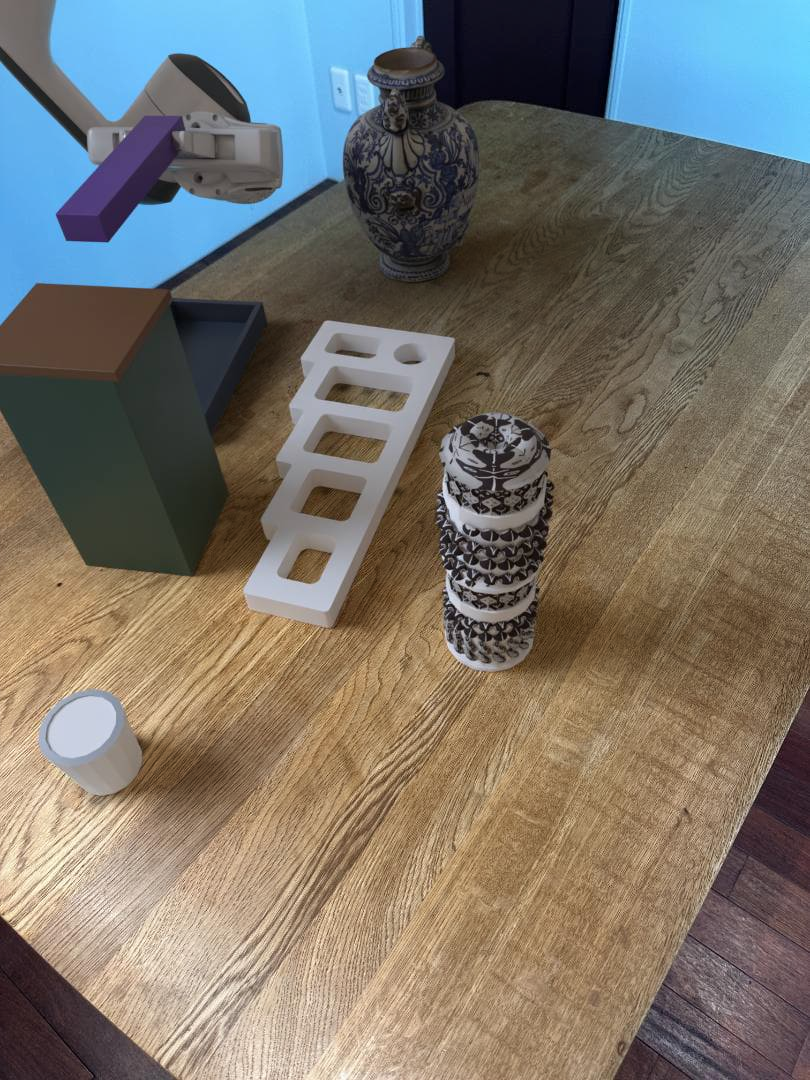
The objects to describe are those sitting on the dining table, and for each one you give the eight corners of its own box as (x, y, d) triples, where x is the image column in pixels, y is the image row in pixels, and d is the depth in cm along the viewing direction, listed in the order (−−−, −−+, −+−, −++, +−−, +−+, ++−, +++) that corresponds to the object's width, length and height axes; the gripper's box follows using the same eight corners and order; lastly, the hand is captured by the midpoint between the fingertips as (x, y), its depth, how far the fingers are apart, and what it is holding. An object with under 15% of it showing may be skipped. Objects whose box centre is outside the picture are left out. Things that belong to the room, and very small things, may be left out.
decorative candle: (558, 632, 77) (588, 431, 58) (493, 694, 73) (502, 500, 54) (486, 580, 81) (492, 378, 62) (421, 635, 77) (406, 438, 58)
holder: (331, 629, 78) (327, 612, 76) (167, 590, 83) (159, 573, 81) (455, 355, 106) (455, 338, 104) (327, 337, 110) (325, 320, 108)
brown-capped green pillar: (81, 564, 86) (-33, 362, 66) (126, 484, 93) (36, 282, 74) (197, 577, 84) (115, 372, 64) (233, 494, 91) (169, 288, 72)
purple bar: (65, 241, 70) (54, 213, 68) (152, 140, 83) (144, 115, 81) (108, 243, 70) (98, 215, 68) (188, 141, 82) (182, 115, 80)
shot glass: (140, 801, 68) (113, 764, 63) (60, 804, 68) (26, 767, 63) (156, 727, 72) (132, 686, 67) (81, 730, 73) (51, 689, 67)
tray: (101, 439, 99) (91, 416, 96) (175, 319, 115) (169, 297, 113) (206, 447, 97) (199, 425, 94) (267, 324, 113) (262, 302, 111)
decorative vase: (468, 307, 113) (469, 92, 92) (339, 300, 116) (311, 90, 95) (485, 230, 127) (489, 27, 106) (370, 226, 130) (351, 28, 109)
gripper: (122, 124, 92) (51, 103, 80) (294, 126, 89) (249, 104, 76) (126, 185, 95) (57, 173, 82) (295, 189, 91) (251, 177, 78)
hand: (152, 140), depth 79 cm, fingers closed on purple bar, 4 cm apart
